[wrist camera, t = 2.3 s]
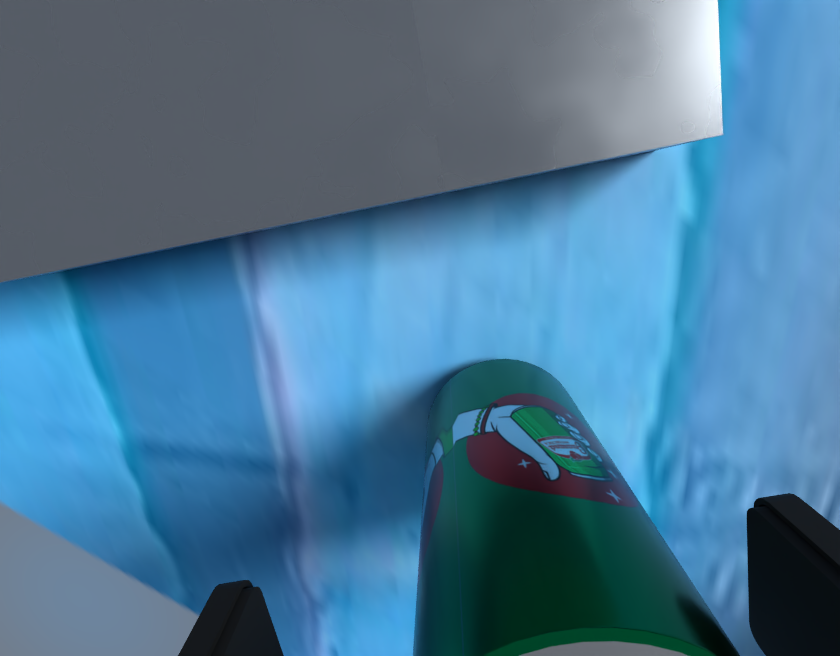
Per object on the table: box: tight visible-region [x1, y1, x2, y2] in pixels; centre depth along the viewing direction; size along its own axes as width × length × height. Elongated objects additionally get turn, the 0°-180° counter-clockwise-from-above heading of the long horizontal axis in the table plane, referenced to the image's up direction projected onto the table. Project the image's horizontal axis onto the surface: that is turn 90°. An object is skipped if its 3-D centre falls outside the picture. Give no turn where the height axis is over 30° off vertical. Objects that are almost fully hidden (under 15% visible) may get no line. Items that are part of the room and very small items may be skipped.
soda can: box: [413, 359, 740, 656], centre depth 11 cm, size 5×5×12 cm
